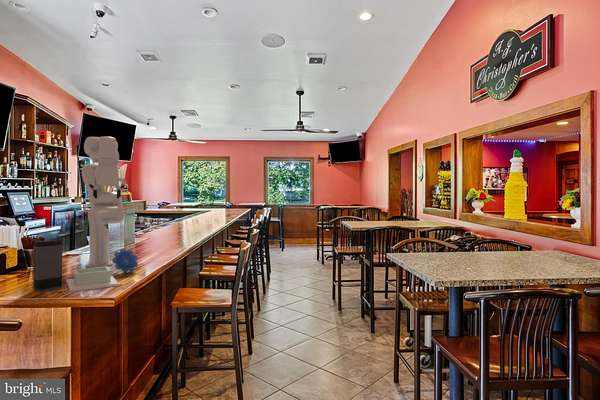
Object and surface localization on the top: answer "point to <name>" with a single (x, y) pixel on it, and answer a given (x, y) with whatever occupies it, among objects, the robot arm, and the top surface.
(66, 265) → the top surface
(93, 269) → the dock
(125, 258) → the grapes
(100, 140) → the robot arm
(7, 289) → the top surface
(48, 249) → the electronic device
